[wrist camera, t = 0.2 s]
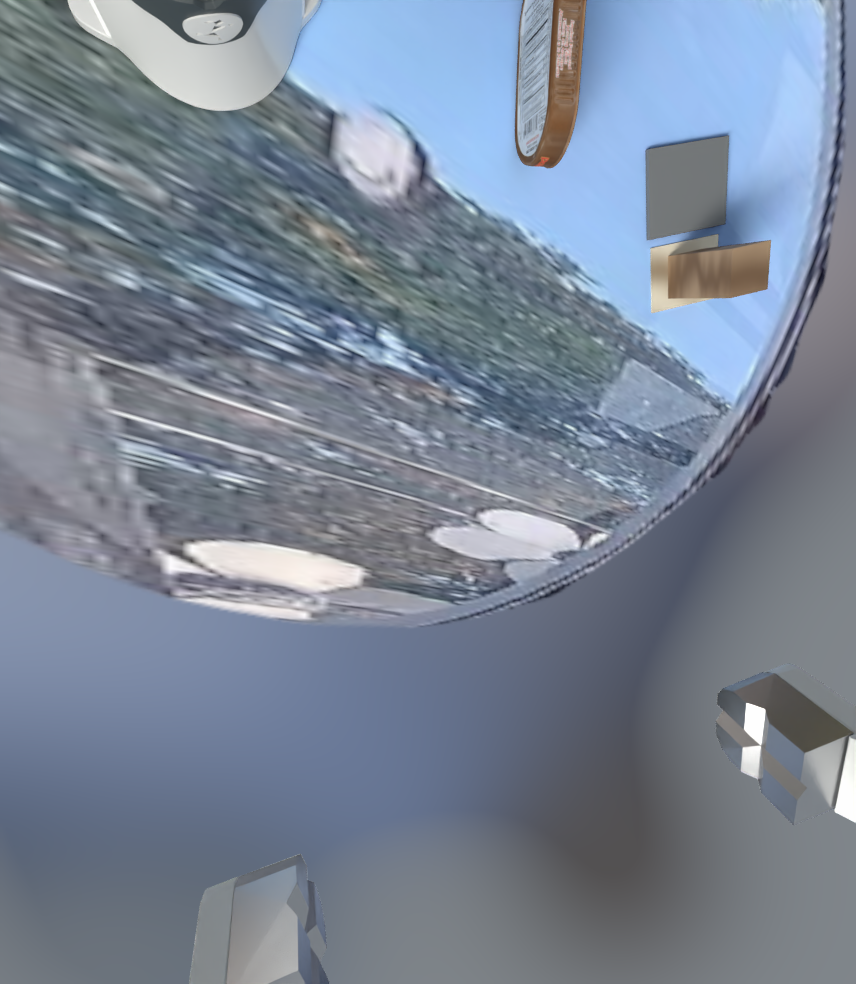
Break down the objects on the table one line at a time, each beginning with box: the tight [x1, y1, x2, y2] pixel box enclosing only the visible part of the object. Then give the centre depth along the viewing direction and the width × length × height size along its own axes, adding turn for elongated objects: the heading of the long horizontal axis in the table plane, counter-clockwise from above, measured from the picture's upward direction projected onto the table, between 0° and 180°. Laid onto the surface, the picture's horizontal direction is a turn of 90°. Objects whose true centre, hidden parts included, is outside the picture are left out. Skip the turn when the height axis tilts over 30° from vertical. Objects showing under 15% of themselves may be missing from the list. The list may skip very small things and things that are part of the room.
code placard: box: [650, 234, 718, 313], centre depth 59 cm, size 7×9×1 cm
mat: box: [646, 136, 729, 240], centre depth 56 cm, size 9×10×1 cm
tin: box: [515, 0, 587, 168], centre depth 44 cm, size 15×3×8 cm, turn 1°
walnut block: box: [668, 240, 771, 299], centre depth 55 cm, size 5×5×9 cm
